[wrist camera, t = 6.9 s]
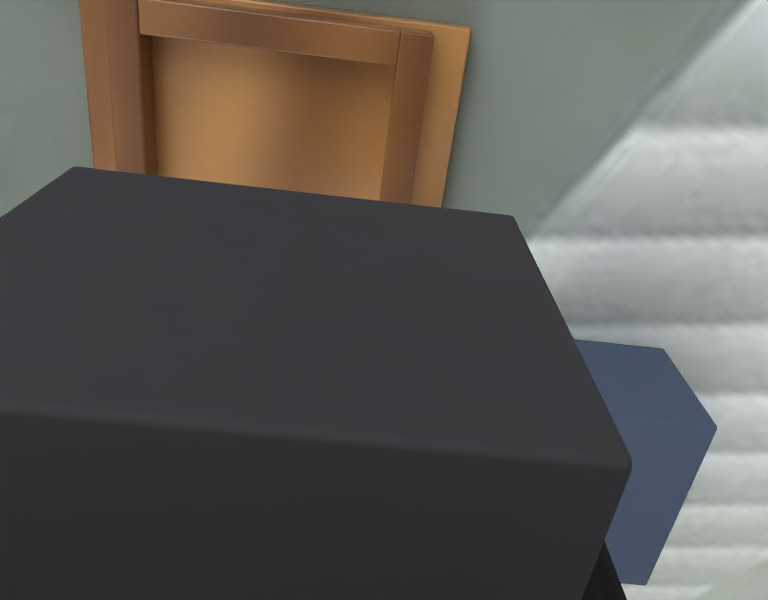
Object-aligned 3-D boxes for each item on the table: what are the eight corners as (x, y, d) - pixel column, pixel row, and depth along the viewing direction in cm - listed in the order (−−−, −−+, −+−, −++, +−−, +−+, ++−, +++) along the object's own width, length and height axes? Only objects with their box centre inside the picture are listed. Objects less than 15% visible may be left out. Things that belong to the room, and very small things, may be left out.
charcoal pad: (514, 213, 9) (639, 462, 5) (428, 598, 13) (452, 937, 8) (71, 163, 9) (-244, 383, 4) (115, 573, 12) (-30, 915, 8)
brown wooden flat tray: (468, 25, 21) (476, 33, 19) (391, 490, 30) (391, 523, 29) (86, -24, 20) (57, -21, 19) (128, 466, 30) (111, 498, 28)
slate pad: (663, 348, 27) (718, 427, 22) (608, 493, 30) (646, 586, 26) (518, 332, 26) (545, 410, 22) (481, 481, 30) (497, 573, 26)
